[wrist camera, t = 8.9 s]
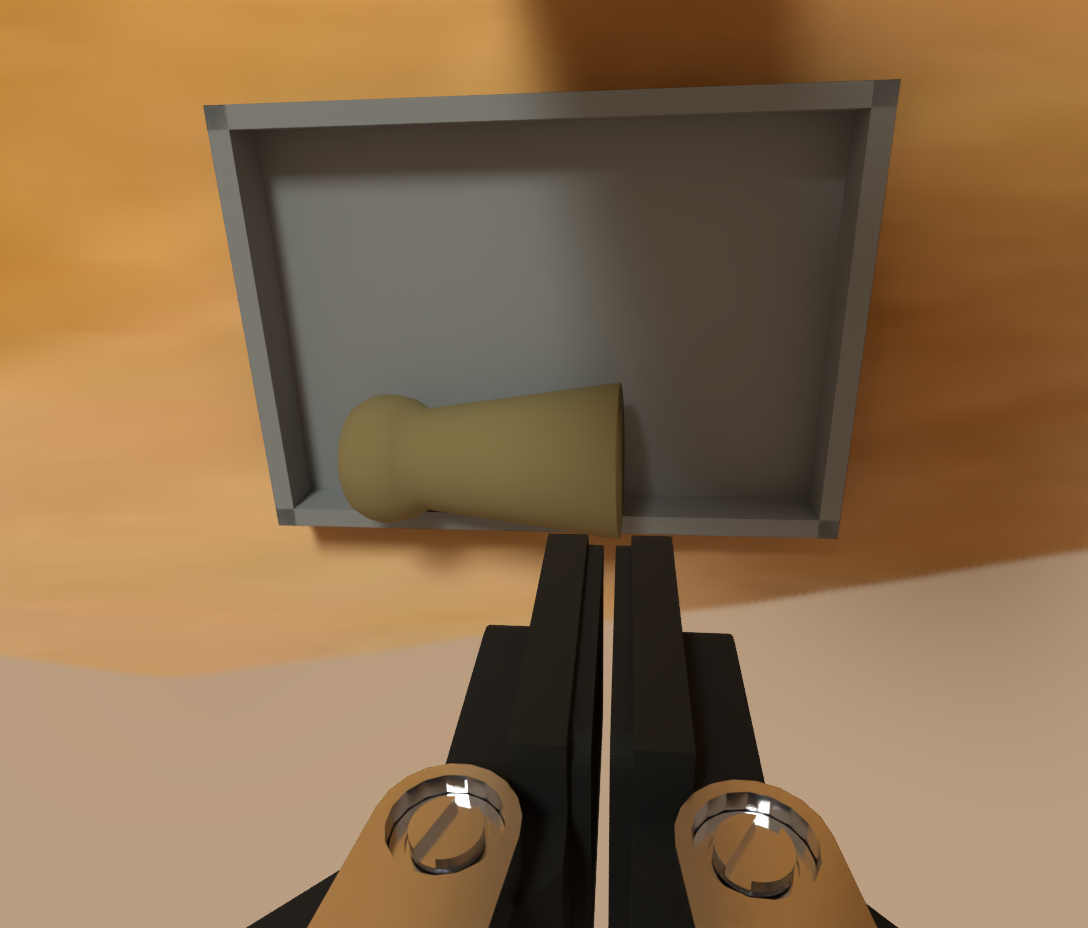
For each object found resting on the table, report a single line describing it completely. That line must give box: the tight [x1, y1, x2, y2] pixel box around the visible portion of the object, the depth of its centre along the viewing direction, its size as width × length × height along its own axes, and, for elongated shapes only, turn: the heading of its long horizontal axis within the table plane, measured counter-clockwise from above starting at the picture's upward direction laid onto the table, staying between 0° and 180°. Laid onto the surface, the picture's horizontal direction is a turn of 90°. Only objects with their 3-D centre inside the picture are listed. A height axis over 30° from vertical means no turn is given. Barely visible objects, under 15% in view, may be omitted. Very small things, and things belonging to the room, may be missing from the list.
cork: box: [338, 382, 625, 539], centre depth 30 cm, size 6×6×11 cm
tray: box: [203, 79, 901, 539], centre depth 30 cm, size 24×17×2 cm
